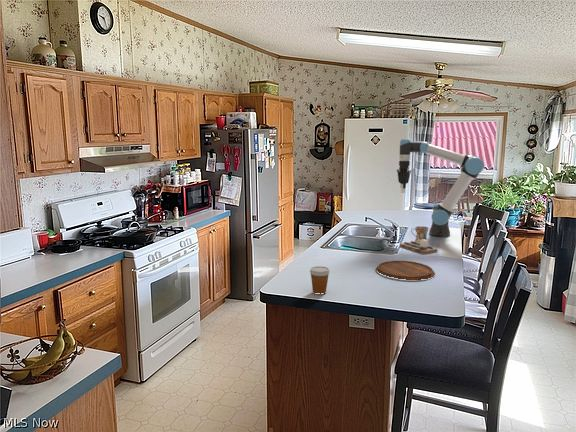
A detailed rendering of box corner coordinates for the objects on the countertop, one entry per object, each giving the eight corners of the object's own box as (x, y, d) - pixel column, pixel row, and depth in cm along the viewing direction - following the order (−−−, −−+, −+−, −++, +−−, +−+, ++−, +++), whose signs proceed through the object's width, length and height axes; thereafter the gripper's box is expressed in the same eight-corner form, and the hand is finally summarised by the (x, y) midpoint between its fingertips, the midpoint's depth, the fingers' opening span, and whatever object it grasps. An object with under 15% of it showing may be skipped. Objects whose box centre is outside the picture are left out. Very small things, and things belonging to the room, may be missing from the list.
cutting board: (402, 285, 233) (402, 280, 232) (364, 268, 260) (364, 264, 260) (447, 276, 247) (448, 272, 247) (407, 261, 275) (407, 257, 274)
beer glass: (308, 289, 225) (308, 266, 223) (327, 289, 226) (327, 265, 223) (310, 296, 215) (311, 272, 213) (330, 295, 216) (331, 271, 214)
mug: (429, 241, 323) (430, 227, 321) (426, 244, 315) (427, 229, 313) (412, 239, 329) (413, 225, 327) (408, 242, 321) (409, 227, 319)
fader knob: (419, 247, 298) (420, 239, 297) (424, 246, 300) (424, 238, 299) (423, 248, 296) (423, 240, 295) (427, 247, 298) (428, 239, 297)
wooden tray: (399, 246, 309) (399, 241, 309) (412, 244, 315) (413, 239, 314) (423, 254, 290) (424, 249, 290) (437, 251, 296) (437, 247, 295)
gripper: (394, 160, 336) (392, 191, 340) (407, 161, 324) (405, 193, 329) (402, 159, 339) (400, 191, 344) (414, 160, 328) (412, 193, 332)
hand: (402, 192), depth 336 cm, fingers closed
